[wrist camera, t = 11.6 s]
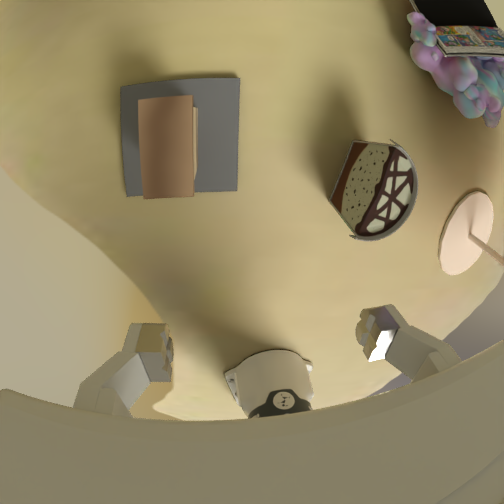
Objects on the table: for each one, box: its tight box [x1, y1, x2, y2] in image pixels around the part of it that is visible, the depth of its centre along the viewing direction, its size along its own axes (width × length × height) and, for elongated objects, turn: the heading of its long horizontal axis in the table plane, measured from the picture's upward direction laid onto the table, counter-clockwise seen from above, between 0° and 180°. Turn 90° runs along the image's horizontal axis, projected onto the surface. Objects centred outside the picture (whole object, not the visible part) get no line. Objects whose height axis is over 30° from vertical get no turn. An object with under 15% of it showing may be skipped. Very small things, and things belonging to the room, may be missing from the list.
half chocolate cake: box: [329, 139, 418, 241], centre depth 31 cm, size 12×6×10 cm, turn 162°
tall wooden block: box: [138, 95, 198, 199], centre depth 25 cm, size 5×9×9 cm, turn 178°
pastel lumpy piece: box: [407, 0, 504, 128], centre depth 19 cm, size 20×22×18 cm
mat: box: [121, 78, 240, 197], centre depth 29 cm, size 14×14×1 cm
